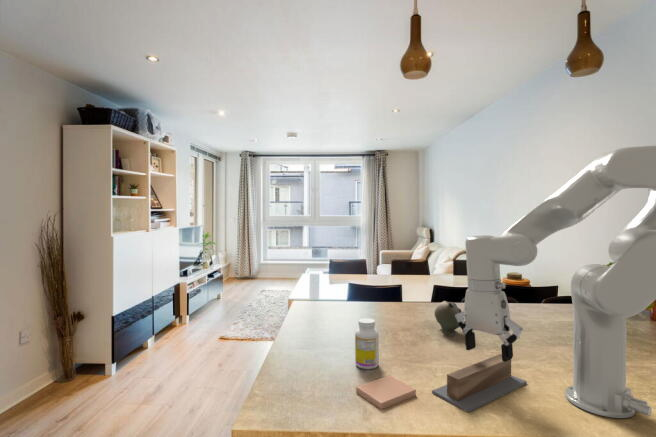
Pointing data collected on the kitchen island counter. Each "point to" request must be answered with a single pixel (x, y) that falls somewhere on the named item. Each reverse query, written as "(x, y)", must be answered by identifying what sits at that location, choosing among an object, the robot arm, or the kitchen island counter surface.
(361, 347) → the supplement bottle
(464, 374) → the walnut bar
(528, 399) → the kitchen island counter surface
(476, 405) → the rubber mat
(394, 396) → the terracotta tile
